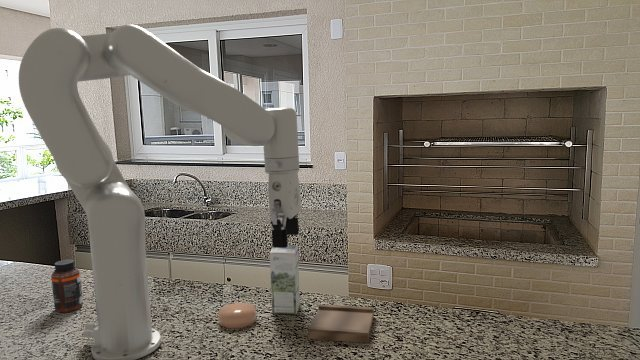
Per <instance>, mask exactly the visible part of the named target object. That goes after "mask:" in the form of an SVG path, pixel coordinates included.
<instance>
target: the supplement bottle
mask: <svg viewBox="0 0 640 360" xmlns="http://www.w3.org/2000/svg"><path fill="white" fill-rule="evenodd" d="M50 279H51V288H52V289H51V290H52V296H53V304H54V305H53V306H54V310H55V311H56V312H57V313H69V312H70V313H71V312H73V311H76V310H78V309H80V308H82V306H83V305H84V302H83V291H82V284H81V282H82V281H81V273H80V270H79V269H78V268H76V267H75V261H74V260H73V259H63V260H59V261H56V262H55V263H54V271H53V272H52V273H51V275H50Z"/></svg>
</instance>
